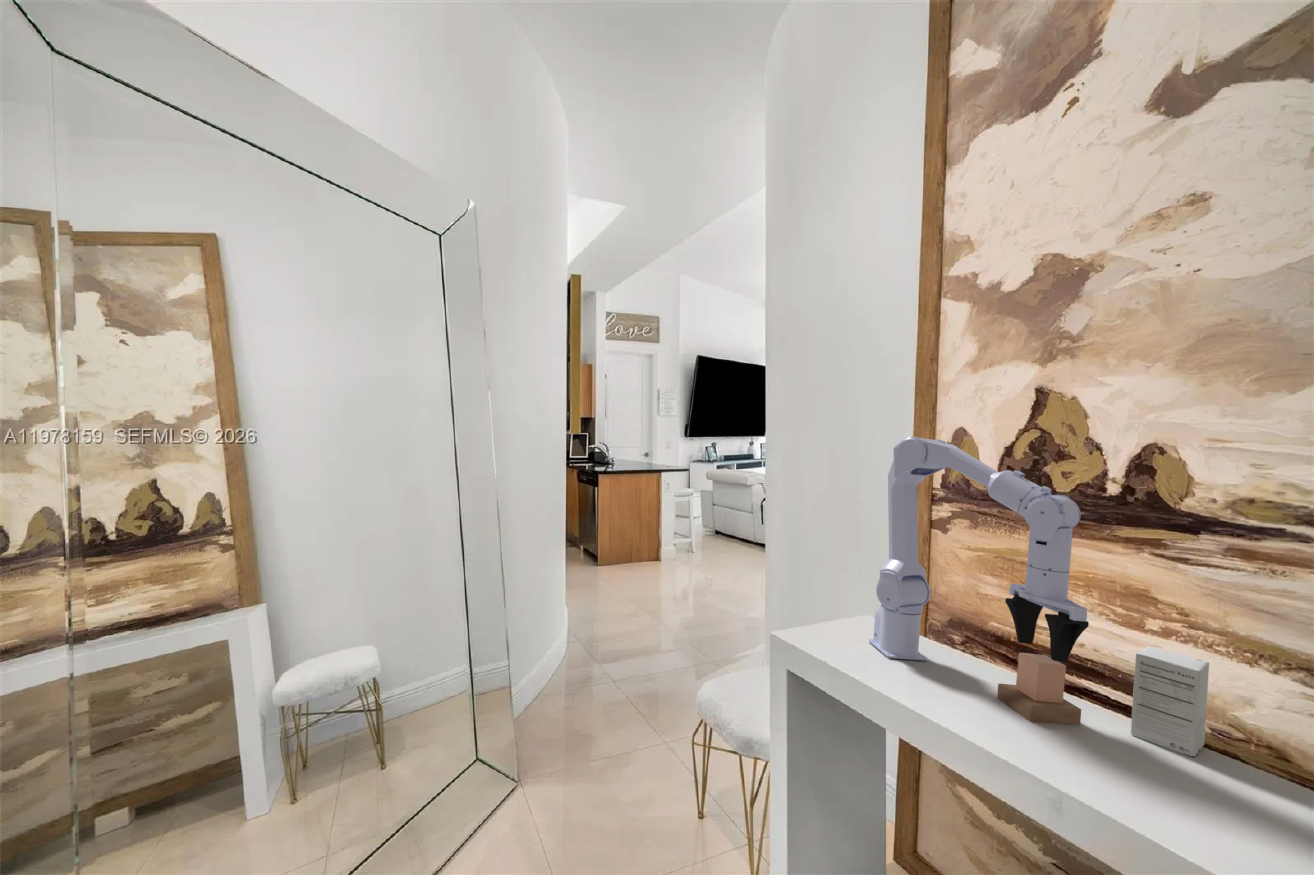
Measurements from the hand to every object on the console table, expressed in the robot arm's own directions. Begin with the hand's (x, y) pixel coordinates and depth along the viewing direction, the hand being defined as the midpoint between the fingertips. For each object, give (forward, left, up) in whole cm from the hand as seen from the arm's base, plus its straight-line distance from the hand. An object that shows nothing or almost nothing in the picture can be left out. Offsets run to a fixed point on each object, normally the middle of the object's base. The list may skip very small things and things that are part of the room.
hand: (1041, 651), depth 90 cm
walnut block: (0, 0, -10) cm, 10 cm away
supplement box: (+7, +15, -10) cm, 19 cm away
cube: (0, 0, -7) cm, 7 cm away
